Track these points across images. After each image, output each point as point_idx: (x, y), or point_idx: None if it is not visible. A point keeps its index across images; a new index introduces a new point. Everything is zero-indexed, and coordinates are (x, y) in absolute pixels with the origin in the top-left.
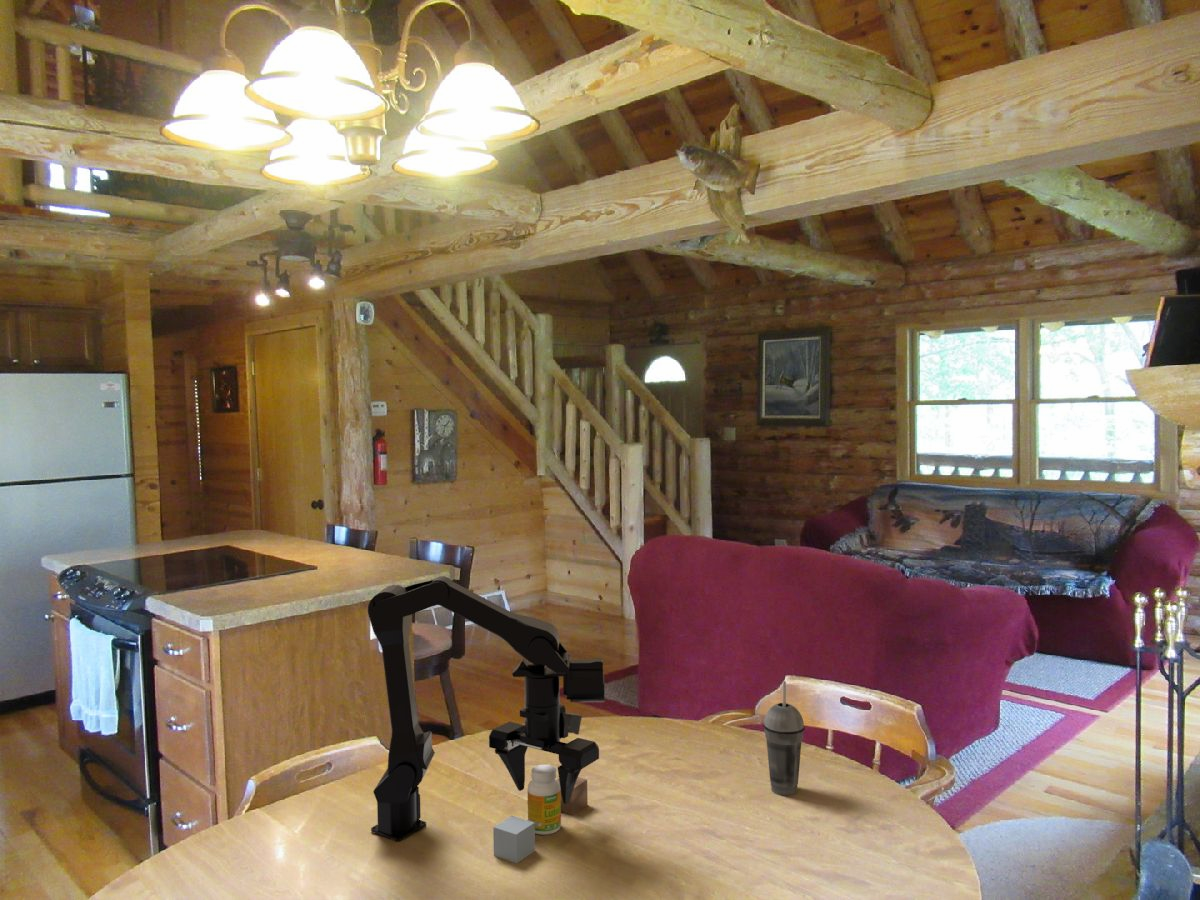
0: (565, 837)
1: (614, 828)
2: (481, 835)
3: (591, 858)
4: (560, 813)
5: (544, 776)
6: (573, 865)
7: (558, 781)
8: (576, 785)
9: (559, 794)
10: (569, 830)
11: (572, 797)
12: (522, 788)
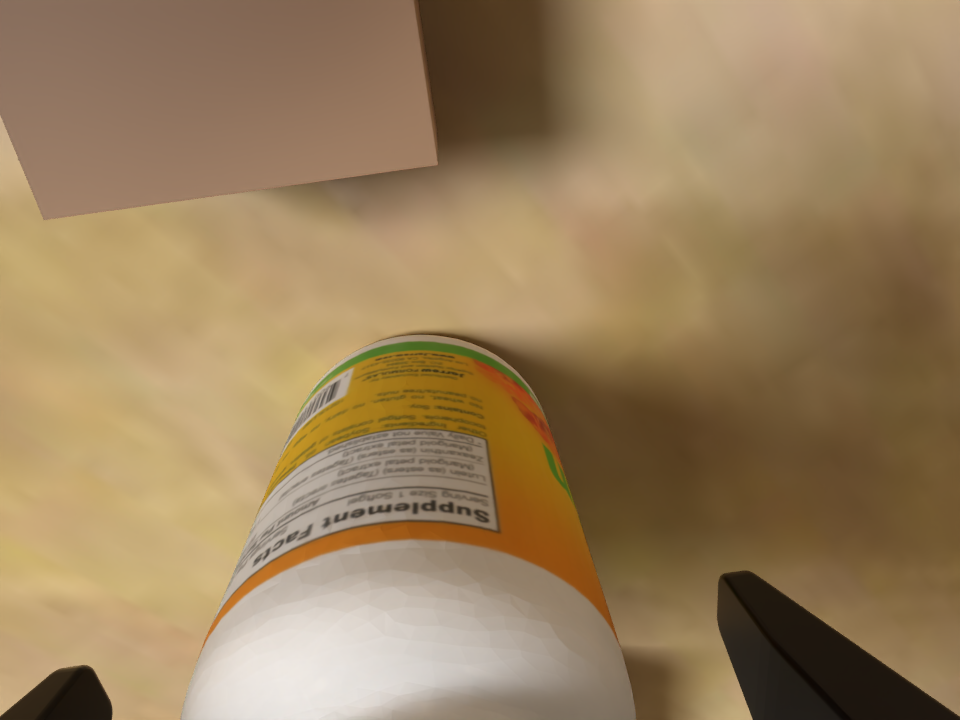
0: (642, 443)
1: (912, 90)
2: None
3: (934, 516)
4: (549, 443)
5: None
6: (872, 616)
7: (60, 89)
8: (398, 18)
9: (604, 603)
10: (602, 357)
11: (437, 150)
12: (91, 694)
